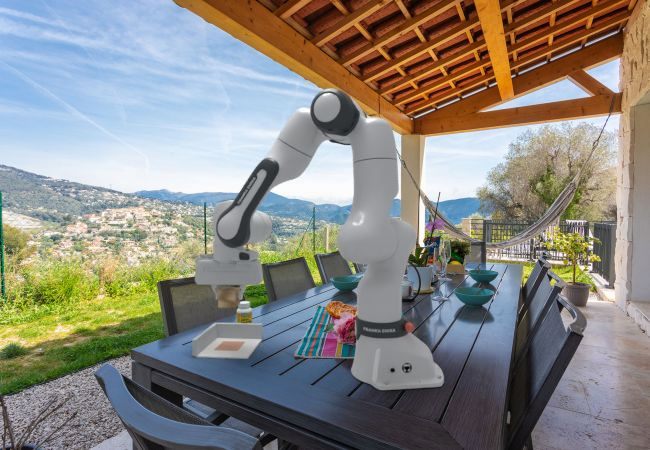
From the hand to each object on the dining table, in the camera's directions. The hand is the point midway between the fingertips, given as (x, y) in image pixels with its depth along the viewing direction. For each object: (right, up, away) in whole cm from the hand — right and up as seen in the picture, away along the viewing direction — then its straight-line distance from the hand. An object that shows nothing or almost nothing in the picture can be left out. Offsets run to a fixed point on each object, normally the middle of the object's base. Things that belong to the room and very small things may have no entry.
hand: (229, 299), depth 106 cm
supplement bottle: (+1, -15, +17) cm, 23 cm away
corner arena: (0, -15, 0) cm, 15 cm away
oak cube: (0, -2, 0) cm, 2 cm away
